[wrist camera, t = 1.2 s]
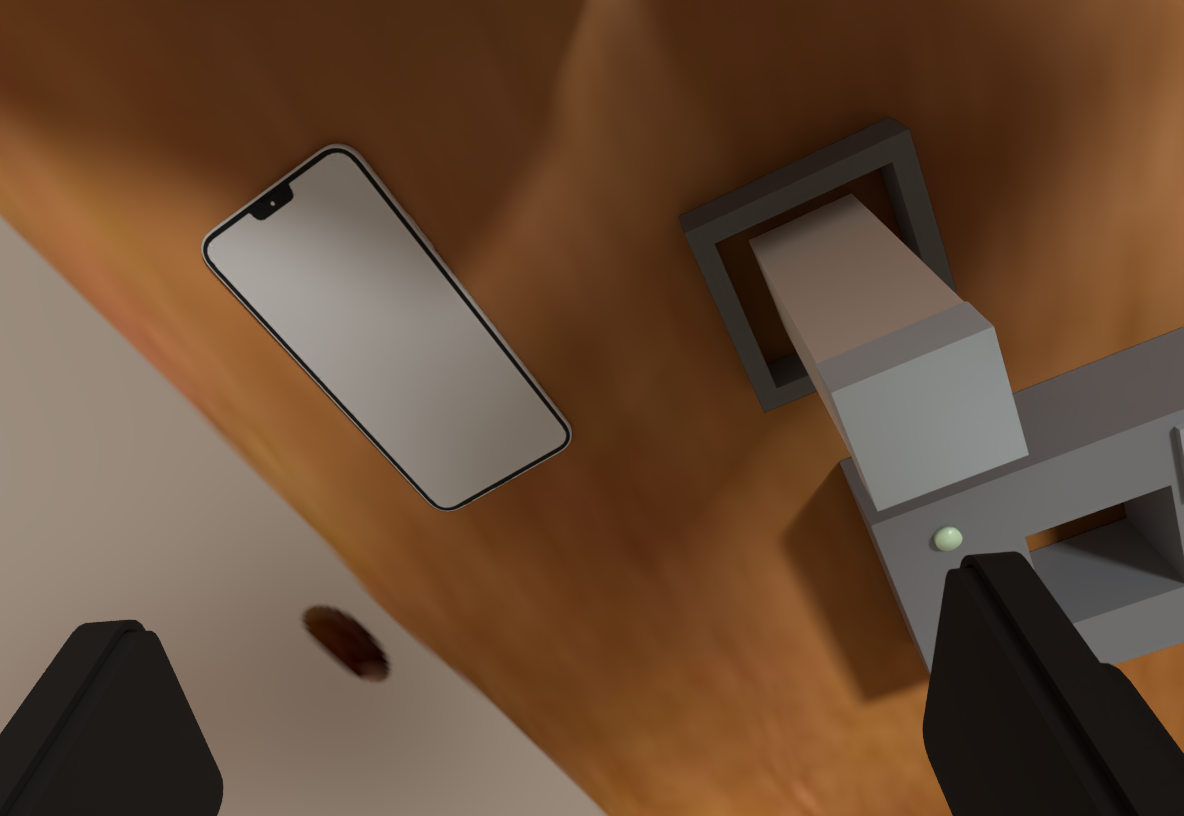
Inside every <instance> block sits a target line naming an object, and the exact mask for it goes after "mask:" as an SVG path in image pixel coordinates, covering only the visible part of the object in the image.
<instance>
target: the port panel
mask: <svg viewBox="0 0 1184 816" xmlns="http://www.w3.org/2000/svg"><path fill="white" fill-rule="evenodd" d="M1012 395H1013V398H1014V402H1015V406H1016V409H1017V413H1018V417H1019V420H1020V424H1021V427H1022V431H1023V435H1024V438H1025V442H1026V446H1027V449H1028V453H1029V455H1027V456H1024V457H1022V458H1019V459H1016V460H1014V461H1011V462H1009V463H1006V464H1003V465H1001V466H998V467H995V468H993V469H990V470H987V471H985V472H982V473H979V474H977V475H974V476H971V477H969V478H966V479H963V480H961V481H958V482H955V483H953V484H950V485H947V486H945V487H942V488H939V489H937V490H934V491H931V492H929V493H926V494H923V495H921V496H918V497H915V498H913V499H910V500H908V501H905V502H902V503H900V504H897V505H894V506H892V507H889V508H886V509H884V510H881V511H877V509H876V507H875V505H874V503H873V501H872V499H871V497H870V496H869V494H868V492H867V490H866V488H865V486H864V484H863V482H862V480H861V478H860V476H859V473H858V470H857V468H856V465H855V463H854V461H853V459H852V457H850V458H848V459H845V460H843V461H840V462H839V463H840V465H841V468H842V470H843V472H844V475H845V477H846V480H847V482H848V485H849V487H850V490H851V492H852V495H853V497H854V499H855V502H856V504H857V507H858V509H859V512H860V514H861V517H862V519H863V521H864V524H865V526H866V529H867V531H868V534H869V536H870V539H871V541H872V543H873V546H874V548H875V551H876V553H877V556H878V558H879V561H880V563H881V565H882V568H883V570H884V573H885V575H886V578H887V580H888V583H889V585H890V587H891V590H892V592H893V595H894V597H895V600H896V602H897V605H898V607H899V609H900V612H901V614H902V617H903V619H904V622H905V624H906V627H907V629H908V632H909V634H910V636H911V639H912V641H913V644H914V646H915V648H916V650H917V652H918V654H919V657H920V659H921V661H922V663H923V665H924V667H925V669H926V671H927V673H928V676H929V678H930V675H931V668H932V662H933V655H934V649H935V642H936V636H937V629H938V623H939V617H940V610H941V604H942V597H943V591H944V584H945V578H946V574H947V572H948V571H949V569H956V568H960V564H961V560H962V559H963V558H964V556H966V555H973V554H985V553H998V552H1011V551H1016V552H1019V553H1021V554H1022V555H1023V556H1024V557H1025V558H1026V559H1027V561H1028V562H1029V563H1030V565H1031V566H1032V568H1033V569H1034V570H1035V572H1036V573H1037V575H1038V576H1039V577H1040V579H1041V580H1042V582H1043V583H1044V584H1045V586H1046V587H1047V589H1048V590H1049V591H1050V593H1051V594H1052V596H1053V597H1054V598H1055V600H1056V601H1057V603H1058V604H1059V605H1060V607H1061V608H1062V610H1063V611H1064V612H1065V614H1066V615H1067V617H1068V618H1069V619H1070V621H1071V622H1072V624H1073V625H1074V626H1075V628H1076V629H1077V631H1078V632H1079V633H1080V635H1081V636H1082V638H1083V639H1084V640H1085V642H1086V643H1087V645H1088V646H1089V647H1090V649H1091V650H1092V652H1093V653H1094V654H1095V656H1096V657H1097V659H1098V660H1099V661H1100V663H1109V664H1111V665H1115V664H1118V663H1121V662H1124V661H1127V660H1131V659H1134V658H1137V657H1140V656H1143V655H1146V654H1149V653H1152V652H1156V651H1159V650H1162V649H1165V648H1168V647H1171V646H1174V645H1177V644H1181V643H1184V327H1182V328H1179V329H1177V330H1174V331H1172V332H1169V333H1167V334H1164V335H1162V336H1159V337H1157V338H1154V339H1151V340H1149V341H1146V342H1144V343H1141V344H1139V345H1136V346H1134V347H1131V348H1128V349H1126V350H1123V351H1121V352H1118V353H1116V354H1113V355H1111V356H1108V357H1106V358H1103V359H1100V360H1098V361H1095V362H1093V363H1090V364H1088V365H1085V366H1083V367H1080V368H1077V369H1075V370H1072V371H1070V372H1067V373H1065V374H1062V375H1060V376H1057V377H1054V378H1052V379H1049V380H1047V381H1044V382H1042V383H1039V384H1037V385H1034V386H1032V387H1029V388H1026V389H1024V390H1021V391H1019V392H1016V393H1014V394H1012ZM1122 502H1123V504H1124V508H1125V513H1126V518H1125V519H1122V520H1119V521H1117V522H1114V523H1111V524H1108V525H1105V526H1102V527H1100V528H1097V529H1094V530H1091V531H1088V532H1085V533H1083V534H1080V535H1077V536H1074V537H1071V538H1068V539H1066V540H1063V541H1060V542H1057V543H1054V544H1051V545H1049V546H1046V547H1043V548H1040V549H1037V550H1034V551H1032V552H1029V549H1028V546H1027V542H1026V539H1025V537H1027V536H1030V535H1032V534H1035V533H1038V532H1041V531H1044V530H1046V529H1049V528H1052V527H1055V526H1058V525H1060V524H1063V523H1066V522H1069V521H1072V520H1074V519H1077V518H1080V517H1083V516H1086V515H1088V514H1091V513H1094V512H1097V511H1100V510H1102V509H1105V508H1108V507H1111V506H1114V505H1116V504H1119V503H1122Z"/></svg>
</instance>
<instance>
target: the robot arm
mask: <svg viewBox="0 0 1184 816" xmlns="http://www.w3.org/2000/svg"><path fill="white" fill-rule="evenodd" d="M923 739H924V745H925V749H926V753H927V755H928V758H929V761H930V763H931V765H932V768H933V770H934V772H935V775H936V777H937V780H938V782H939V784H940V787H941V789H942V791H943V794H944V796H945V798H946V801H947V803H948V805H949V808H950V810H951V812H952V815H953V816H1184V753H1183V752H1182V751H1181V749H1180V748H1179V747H1178V745H1177V744H1176V742H1175V741H1174V740H1173V738H1172V737H1171V736H1170V734H1169V733H1168V732H1167V730H1166V729H1165V728H1164V726H1163V725H1162V723H1161V722H1160V721H1159V719H1158V718H1157V717H1156V715H1155V714H1154V713H1153V711H1152V710H1151V709H1150V707H1149V706H1148V704H1147V703H1146V702H1145V700H1144V699H1143V698H1142V696H1141V695H1140V694H1139V692H1138V691H1137V690H1136V688H1135V687H1134V685H1133V684H1132V683H1131V681H1130V680H1129V679H1128V678H1127V677H1126V676H1125V675H1124V674H1123V673H1122V672H1121V670H1120V669H1118V668H1116V667H1115V666H1113V665H1111V664H1109V663H1100V661H1099V660H1098V659H1097V657H1096V656H1095V654H1094V653H1093V652H1092V650H1091V649H1090V647H1089V646H1088V645H1087V643H1086V642H1085V640H1084V639H1083V638H1082V636H1081V635H1080V633H1079V632H1078V631H1077V629H1076V628H1075V626H1074V625H1073V624H1072V622H1071V621H1070V619H1069V618H1068V617H1067V615H1066V614H1065V612H1064V611H1063V610H1062V608H1061V607H1060V605H1059V604H1058V603H1057V601H1056V600H1055V598H1054V597H1053V596H1052V594H1051V593H1050V591H1049V590H1048V589H1047V587H1046V586H1045V584H1044V583H1043V582H1042V580H1041V579H1040V577H1039V576H1038V575H1037V573H1036V572H1035V570H1034V569H1033V568H1032V566H1031V565H1030V563H1029V562H1028V561H1027V559H1026V558H1025V557H1024V556H1023V555H1022V554H1021V553H1019V552H1016V551H1011V552H998V553H985V554H973V555H966V556H964V558H963V559H962V560H961V564H960V568H956V569H949V571H948V572H947V574H946V578H945V584H944V591H943V597H942V604H941V610H940V617H939V623H938V629H937V636H936V642H935V649H934V655H933V662H932V668H931V675H930V681H929V688H928V694H927V700H926V707H925V713H924V720H923ZM222 797H223V780H222V777H221V774H220V771H219V769H218V767H217V765H216V762H215V760H214V758H213V756H212V754H211V752H210V749H209V747H208V745H207V743H206V741H205V738H204V736H203V734H202V732H201V730H200V727H199V725H198V723H197V721H196V719H195V716H194V714H193V712H192V710H191V708H190V705H189V703H188V701H187V699H186V697H185V695H184V692H183V690H182V688H181V686H180V684H179V681H178V679H177V677H176V675H175V673H174V670H173V668H172V666H171V664H170V662H169V659H168V657H167V655H166V653H165V651H164V648H163V646H162V644H161V642H160V640H159V638H158V636H157V635H156V633H154V632H152V631H146V630H145V628H144V627H143V625H142V624H141V623H139V622H138V621H136V620H119V621H106V622H93V623H85V624H83V625H80V626H79V627H78V628H77V629H76V630H75V631H74V632H73V633H72V634H71V635H70V637H69V638H68V640H67V641H66V642H65V644H64V645H63V647H62V648H61V649H60V651H59V652H58V654H57V655H56V657H55V658H54V659H53V661H52V662H51V664H50V665H49V666H48V668H47V669H46V671H45V672H44V673H43V675H42V676H41V678H40V679H39V680H38V682H37V683H36V685H35V686H34V687H33V689H32V690H31V692H30V693H29V694H28V696H27V697H26V699H25V700H24V701H23V703H22V704H21V706H20V707H19V709H18V710H17V711H16V713H15V714H14V716H13V717H12V718H11V720H10V721H9V723H8V724H7V725H6V727H5V728H4V730H3V731H2V732H1V734H0V816H217V814H218V812H219V809H220V806H221V803H222Z"/></svg>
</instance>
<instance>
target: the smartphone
mask: <svg viewBox="0 0 1184 816" xmlns="http://www.w3.org/2000/svg"><path fill="white" fill-rule="evenodd" d="M307 162H308V163H307ZM284 179H285V180H284ZM265 193H266V194H265ZM246 207H247V208H246ZM242 210H243V211H242ZM223 224H224V225H223ZM219 227H220V228H219ZM201 252H202V256H203V258H204V260H205V262H206V264H207V265H208V266H209V267H210V269H211V270H212V271H213V272H214V273H215V274H216V275H217V276H218V277H219V279H220V280H221V281H222V282H223V283H224V284H225V285H226V286H227V287H228V288H229V289H230V290H231V292H232V293H233V294H234V295H235V296H236V297H237V298H238V299H239V300H240V301H241V302H242V303H243V304H244V305H245V307H246V308H247V309H248V310H249V311H250V312H251V313H252V314H253V315H254V316H255V317H256V318H257V319H258V321H259V322H260V323H261V324H262V325H263V326H264V327H265V328H266V329H267V330H268V331H269V332H270V333H271V335H272V336H273V337H274V338H275V339H276V340H277V341H278V342H279V343H280V344H281V345H282V346H283V347H284V348H285V350H286V351H287V352H288V353H289V354H290V355H291V356H292V357H293V358H294V359H295V360H296V361H297V362H298V364H299V365H300V366H301V367H302V368H303V369H304V370H305V371H306V372H307V373H308V374H309V375H310V376H311V378H312V379H313V380H314V381H315V382H316V383H317V384H318V385H319V386H320V387H321V388H322V389H323V390H324V391H325V393H326V394H327V395H328V396H329V397H330V398H331V399H332V400H333V401H334V402H335V403H336V404H337V405H338V407H339V408H340V409H341V410H342V411H343V412H344V413H345V414H346V415H347V416H348V417H349V418H350V419H351V421H352V422H353V423H354V424H355V425H356V426H357V427H358V428H359V429H360V430H361V431H362V432H363V433H364V434H365V436H366V437H367V438H368V439H369V440H370V441H371V442H372V443H373V444H374V445H375V446H376V447H377V448H378V450H379V451H380V452H381V453H382V454H383V455H384V456H385V457H386V458H387V459H388V460H389V461H390V462H391V463H392V465H393V466H394V467H395V468H396V469H397V470H398V471H399V472H400V473H401V474H402V475H403V476H404V477H405V479H406V480H407V481H408V482H409V483H410V484H411V485H412V486H413V487H414V488H415V489H416V490H417V491H418V493H419V494H420V495H421V496H422V497H423V498H424V499H425V500H426V501H427V502H428V503H429V504H430V505H431V506H432V507H434V508H436V509H438V510H441V511H455V510H458V509H460V508H462V507H464V506H466V505H468V504H469V503H471V502H473V501H475V500H477V499H478V498H480V497H482V496H484V495H485V494H487V493H489V492H491V491H492V490H494V489H496V488H498V487H500V486H501V485H503V484H505V483H507V482H508V481H510V480H512V479H514V478H515V477H517V476H519V475H521V474H523V473H524V472H526V471H528V470H530V469H531V468H533V467H535V466H537V465H538V464H540V463H542V462H544V461H546V460H547V459H549V458H551V457H553V456H554V455H556V454H558V453H560V452H561V451H563V450H564V449H565V448H566V447H567V446H568V445H569V443H570V442H571V439H572V429H571V426H570V424H569V422H568V421H567V419H566V418H565V417H564V416H563V414H562V413H561V412H560V410H559V409H558V408H557V407H556V405H555V404H554V403H553V401H552V400H551V399H550V397H549V396H548V395H547V394H546V392H545V391H544V390H543V388H542V387H541V386H540V385H539V383H538V382H537V381H536V379H535V378H534V377H533V376H532V374H531V373H530V372H529V370H528V369H527V368H526V366H525V365H524V364H523V363H522V361H521V360H520V359H519V357H518V356H517V355H516V354H515V352H514V351H513V350H512V348H511V347H510V346H509V345H508V343H507V342H506V341H505V339H504V338H503V337H502V335H501V334H500V333H499V332H498V330H497V329H496V328H495V326H494V325H493V324H492V323H491V321H490V320H489V319H488V317H487V316H486V315H485V314H484V312H483V311H482V310H481V308H480V307H479V306H478V305H477V303H476V302H475V301H474V299H473V298H472V297H471V295H470V294H469V293H468V292H467V290H466V289H465V288H464V286H463V285H462V284H461V283H460V281H459V280H458V279H457V277H456V276H455V275H454V274H453V272H452V271H451V270H450V268H449V267H448V266H447V265H446V263H445V262H444V261H443V259H442V258H441V257H440V256H439V254H438V253H437V252H436V250H435V249H434V246H433V245H432V244H431V242H430V241H429V240H428V238H427V237H426V236H425V235H424V233H423V232H422V231H421V229H420V228H419V227H418V226H417V224H416V223H415V222H414V220H413V219H412V218H411V216H410V215H409V214H408V213H407V212H405V210H404V209H403V208H402V207H401V205H400V204H399V203H398V201H397V200H396V199H395V197H394V196H393V195H392V194H391V192H390V191H389V190H388V188H387V187H386V186H385V185H384V183H383V182H382V181H381V179H380V178H379V177H378V176H377V174H376V173H375V172H374V170H373V169H372V168H371V167H370V165H369V164H368V163H367V161H366V160H365V159H364V158H363V157H362V155H361V154H360V153H359V152H358V151H356V150H355V149H354V148H352V147H350V146H348V145H345V144H330V145H328V146H326V147H324V148H322V149H321V150H319V151H318V152H316V153H315V154H314V155H312V156H311V157H310V158H308V159H307V160H306V161H304V162H303V163H301V164H300V165H299V166H297V167H296V168H295V169H293V170H292V171H291V172H289V173H288V174H287V175H285V176H284V177H283V178H281V179H280V180H278V181H277V182H276V183H274V184H273V185H272V186H270V187H269V188H268V189H266V190H265V191H264V192H262V193H261V194H260V195H258V196H257V197H255V198H254V199H253V200H251V201H250V202H249V203H247V204H246V205H245V206H243V207H242V208H241V209H239V210H238V211H237V212H235V213H234V214H232V215H231V216H230V217H228V218H227V219H226V220H224V221H223V222H222V223H220V224H219V225H218V226H216V227H215V228H214V229H212V230H211V231H210V232H209V233H208V234H207V235H206V236H205V237H204V239H203V242H202V245H201ZM468 294H469V295H468Z"/></svg>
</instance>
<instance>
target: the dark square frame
mask: <svg viewBox="0 0 1184 816" xmlns="http://www.w3.org/2000/svg"><path fill="white" fill-rule="evenodd" d="M878 168H880V169H881V172H882V175H883V178H884V181H885V185H886V188H887V191H888V194H889V197H890V200H891V204H892V207H893V210H894V213H895V216H896V219H897V223H898V226H899V229H900V232H901V235H902V239H903V242H904V244H905V245H906V246H907V247H908V248H909V249H910V250H911V251H912V252H913V253H914V254H915V255H916V256H917V257H918V258H919V259H920V260H921V261H922V262H923V263H924V264H925V265H927V266H928V267H929V268H930V269H931V270H932V271H933V272H934V273H935V274H936V275H937V276H938V277H939V278H940V279H941V280H942V281H943V282H944V283H945V284H946V285H947V286H948V287H949V288H950V289H951V290H952V291H953V292H955V293H956V294H957V291H956V287H955V284H954V281H953V277H952V274H951V270H950V267H949V263H948V260H947V257H946V253H945V250H944V246H943V243H942V239H941V236H940V233H939V229H938V226H937V222H936V219H935V215H934V212H933V208H932V205H931V202H930V198H929V195H928V191H927V188H926V184H925V181H924V178H923V174H922V171H921V167H920V164H919V160H918V157H917V154H916V150H915V147H914V143H913V140H912V136H911V133H910V130H909V128H907V127H906V126H904V125H902V124H901V123H899V122H897V121H896V120H894V119H892V118H891V117H888V118H886V119H884V120H882V121H880V122H878V123H876V124H874V125H871V126H869V127H867V128H865V129H863V130H861V131H859V132H857V133H854V134H852V135H850V136H848V137H846V138H844V139H842V140H840V141H838V142H835V143H833V144H831V145H829V146H827V147H825V148H823V149H821V150H818V151H816V152H814V153H812V154H810V155H808V156H806V157H804V158H801V159H799V160H797V161H795V162H793V163H791V164H789V165H787V166H784V167H782V168H780V169H778V170H776V171H774V172H772V173H770V174H768V175H765V176H763V177H761V178H759V179H757V180H755V181H753V182H751V183H748V184H746V185H744V186H742V187H740V188H738V189H736V190H734V191H731V192H729V193H727V194H725V195H723V196H721V197H719V198H717V199H714V200H712V201H710V202H708V203H706V204H704V205H702V206H700V207H698V208H695V209H693V210H691V211H689V212H687V213H685V214H683V215H681V216H678V217H679V220H680V223H681V225H682V228H683V231H684V234H685V236H686V238H687V241H688V243H689V245H690V247H691V250H692V252H693V254H694V256H695V258H696V261H697V263H698V265H699V267H700V270H701V272H702V274H703V276H704V279H705V281H706V283H707V285H708V288H709V290H710V292H711V294H712V297H713V299H714V301H715V303H716V306H717V308H718V310H719V312H720V315H721V317H722V319H723V321H724V324H725V326H726V328H727V330H728V332H729V335H730V337H731V339H732V341H733V344H734V346H735V348H736V350H737V353H738V355H739V357H740V359H741V362H742V364H743V366H744V368H745V371H746V373H747V375H748V377H749V380H750V382H751V384H752V386H753V389H754V391H755V393H756V395H757V398H758V400H759V402H760V404H761V406H762V409H763V411H764V413H765V412H768V411H770V410H773V409H775V408H777V407H780V406H782V405H785V404H787V403H790V402H792V401H794V400H797V399H799V398H802V397H804V396H807V395H809V394H811V393H814V392H816V391H817V390H816V388H815V386H814V384H813V382H812V380H811V378H810V376H809V374H808V372H807V370H806V369H805V367H804V365H803V363H802V361H801V359H800V357H799V355H798V353H797V352H796V353H794V354H792V355H789V356H787V357H784V358H782V359H780V360H777V361H775V362H773V363H770V364H768V365H766V362H765V360H764V358H763V355H762V353H761V351H760V348H759V346H758V344H757V341H756V339H755V337H754V335H753V332H752V330H751V328H750V325H749V323H748V321H747V318H746V316H745V314H744V311H743V309H742V307H741V304H740V302H739V300H738V297H737V295H736V293H735V290H734V288H733V286H732V283H731V281H730V279H729V276H728V274H727V272H726V269H725V267H724V265H723V262H722V260H721V258H720V256H719V253H718V251H717V249H716V246H715V243H717V242H719V241H722V240H724V239H726V238H728V237H730V236H732V235H735V234H737V233H739V232H741V231H743V230H745V229H748V228H750V227H752V226H754V225H756V224H759V223H761V222H763V221H765V220H767V219H769V218H772V217H774V216H776V215H778V214H780V213H782V212H785V211H787V210H789V209H791V208H793V207H795V206H798V205H800V204H802V203H804V202H806V201H808V200H811V199H813V198H815V197H817V196H819V195H822V194H824V193H826V192H828V191H830V190H832V189H835V188H837V187H839V186H841V185H843V184H845V183H848V182H850V181H852V180H854V179H856V178H858V177H861V176H863V175H865V174H867V173H869V172H871V171H874V170H876V169H878ZM957 295H958V294H957Z"/></svg>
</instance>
